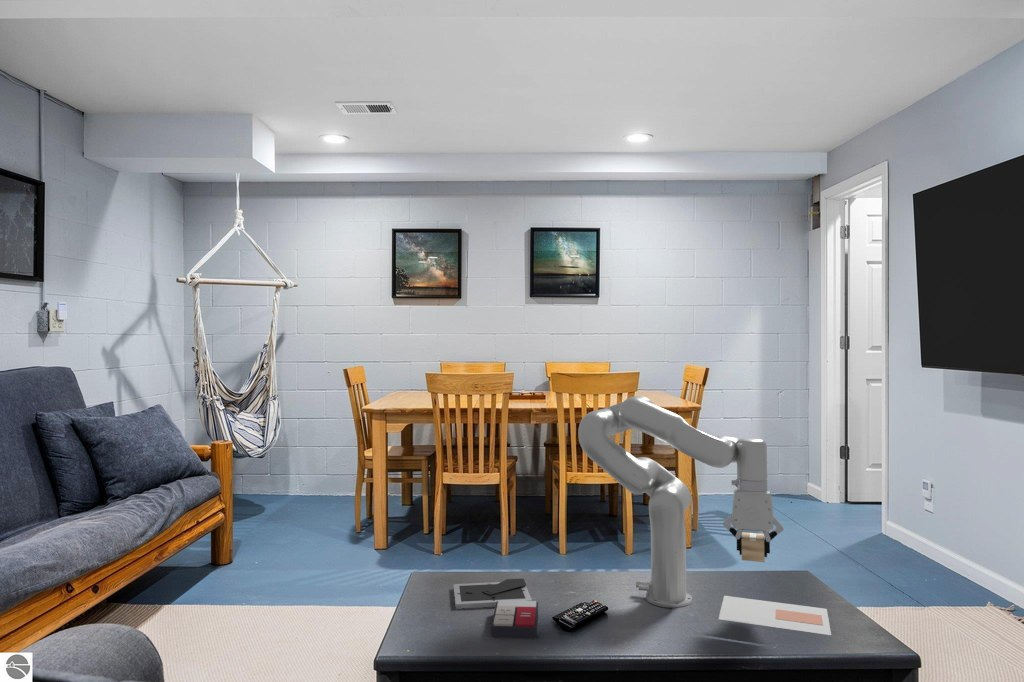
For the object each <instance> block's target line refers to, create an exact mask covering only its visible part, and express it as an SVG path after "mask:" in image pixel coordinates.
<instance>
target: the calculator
mask: <svg viewBox="0 0 1024 682" xmlns="http://www.w3.org/2000/svg"><path fill="white" fill-rule="evenodd" d="M538 621H539V602H538V601H536V600H532V601H511V600H498V601H497V602H496V607H495V608H494V613H493V617H492V621H491V627H490V628H491V629H490V631H491V633H490V634H491V636H490V637H491V638H500V637H505V638H509V639H537V638H538V624H539V622H538ZM505 638H504V639H505Z"/></svg>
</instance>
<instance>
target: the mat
mask: <svg viewBox="0 0 1024 682" xmlns="http://www.w3.org/2000/svg"><path fill="white" fill-rule="evenodd" d="M828 613H829V612H828V609H827V608H823V607H814V606H808V605H800V604H792V603H785V602H784V603H783V602H776V601H769V600H760V599H755V598H754V599H753V598H745V597H737V596H730V595H723V599H722V603H721V607H720V611H719V615H718V620H719V621H720V620H721V621H725V622H726V621H727V622H734V623H742V624H747V625H755V626H763V627H769V628H775V629H776V628H777V629H783V630H791V631H798V632H805V633H812V634H819V635H825V636H832V632H831V624H830V619H829V615H828Z"/></svg>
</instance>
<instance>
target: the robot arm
mask: <svg viewBox="0 0 1024 682" xmlns="http://www.w3.org/2000/svg"><path fill="white" fill-rule="evenodd" d="M632 429H635V430H637V431H638V432H641V433H644V434H646V435H648V436H651V437H653V438H655V439H657V440H660V441H662V442H664V443H666V444H668V445H669V446H670V447H672V448H674V449H675V450H677V451H678V452H681V453H683V454H684V455H686V456H687V457H689V458H692V459H694V460H696V461H697V462H700V463H702V464H705V465H707V466H710V467H712V468H715V469H716V468H718V469H721V468H726V467H728V466H729V465H730V464H733V463H736V479H732V480H731V486H734V487H736V489H733V490H734V491H733V497H732V510H731V511H732V512H731V514H730V515H729V516H728V517H727V518H726V519H725V520H724V521H723V523H722V526H723V527H724V528H725V529H727V530H728V531H729V532H730V534H731V535H732V536H733V537H735V539H736V551H738V552H739V555H740V556H742V532H744V531H753V532H762V534H764V558H768V554H771V548H770V547H771V545H770V544H771V543H770V542H771V541H772V540H773V539H774V538H775V537H777V535H779V534H780V533H782V532H784V530H785V529H784V526H783V525H782V523H780V522H779V520H778V519H777V518H776V517H775V515H774V505H773V499H772V494H771V491H770V490H768V447H767V442H766V441H765V440H764V439H761V438H755V437H754V438H752V437H747V438H744V437H743V438H739V437H734V436H728V435H719V436H716V437H715V436H713V435H710V434H707V433H705V432H703V431H701V430H699V429H697V428H695V427H693V426H692V425H690V424H689V423H688V422H687V421H686V420H685V419H684V418H683V417H682V416H681V415H678V414H677V413H675V412H673V411H670V410H668V409H665V408H663V407H661V406H658V405H656V404H654V403H653V401H652V400H651V399H649V398H648V397H646V396H645V395H636V396H631V397H628V398H626V399H625V400H624V401H621V402H619V403H616V404H612V405H610V406H608V407H604V408H600V409H596V410H593V411H590V412H587V413H586V414H584V416H583V417H582V418H581V419H580V423H579V426H578V429H577V431H578V432H577V433H578V434H577V436H578V437H577V438H578V441H579V445H580V447H581V449H582V451H583V452H584V453H585V455H586V456H587V457H588V458H589V459H590V460H591V461H592V462H594V463H595V464H596V465H597V466H598V467H599V468H601V469H602V470H603V471H604V472H606V473H607V474H608V475H609V476H610V477H611V478H613V479H614V480H615V481H616V482H617V483H618V484H620V485H621V486H622V487H623V488H624V489H626V490H627V491H628V492H629V493H631V494H633V495H634V494H635V495H642V494H644V493H645V494H646V495H647V496H649V501H648V515H649V523H650V525H649V526H650V527H649V528H650V571H651V572H650V578H651V580H647V581H643V580H636V582H635V587H636V588H638V591H646V592H645V599H646V601H647V602H648V603H649V604H651V605H654V606H656V607H660V608H661V607H662V608H668V609H673V608H682V607H687V606H689V605H691V604H692V603H693V596H692V595H691V594H690V593H688V591H687V533H686V532H687V531H686V522H685V521H686V520H685V514H686V513H685V512H686V510H687V509H689V507H690V504H691V502H692V499H691V498H692V497H691V491H690V490H689V488H688V486H687V485H686V484H685V483H684V482H682V481H681V479H679V478H678V477H676V475H674V474H672V473H671V472H670V471H669V470H667V469H666V468H665V467H664V466H662V465H661V464H660V463H659V462H657V461H656V460H653V459H651V458H650V457H647V456H641V457H635V456H634V455H633V454H631V453H630V452H629V451H627V450H626V449H625V448H624V447H623V446H621V445H619V444H618V443H617V442H615V441H613V440H612V439H611V438H610V437H611V436H614V435H617V434H620V433H622V432H625V431H629V430H632ZM731 523H732V524H731ZM774 526H775V528H774Z"/></svg>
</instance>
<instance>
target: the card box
mask: <svg viewBox="0 0 1024 682" xmlns="http://www.w3.org/2000/svg"><path fill="white" fill-rule="evenodd" d="M741 536H742V555H741V560H742V561H745V562H747V561H748V562H755V563H756V562H758V563H766V562H765V557H764V540H765V536H764V533H758V532H756V533H755V532H746V531H745V532H744V531H742V534H741Z"/></svg>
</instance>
